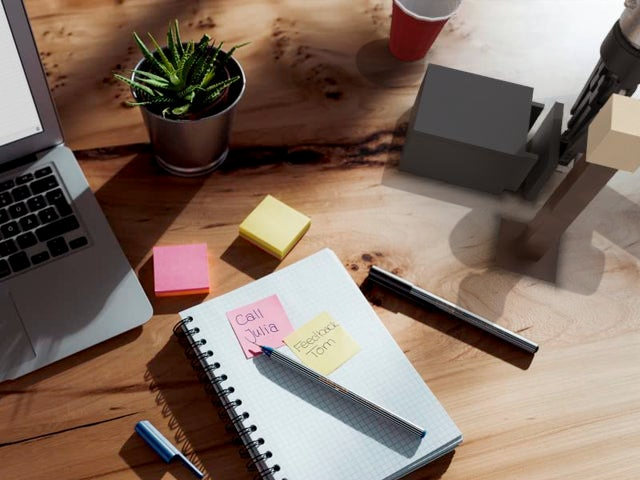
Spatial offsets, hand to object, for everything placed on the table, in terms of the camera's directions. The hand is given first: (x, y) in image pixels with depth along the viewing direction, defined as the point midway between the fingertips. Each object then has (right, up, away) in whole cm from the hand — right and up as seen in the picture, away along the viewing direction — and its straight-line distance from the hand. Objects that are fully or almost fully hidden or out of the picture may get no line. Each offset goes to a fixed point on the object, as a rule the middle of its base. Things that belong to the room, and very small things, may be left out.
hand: (552, 166), depth 93 cm
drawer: (-6, +1, +2) cm, 6 cm away
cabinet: (-13, +3, +4) cm, 14 cm away
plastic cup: (-18, +21, +13) cm, 30 cm away
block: (-5, -3, -23) cm, 24 cm away
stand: (-6, -13, -4) cm, 14 cm away
